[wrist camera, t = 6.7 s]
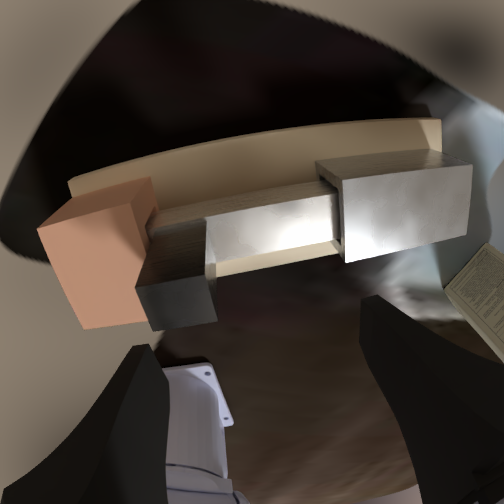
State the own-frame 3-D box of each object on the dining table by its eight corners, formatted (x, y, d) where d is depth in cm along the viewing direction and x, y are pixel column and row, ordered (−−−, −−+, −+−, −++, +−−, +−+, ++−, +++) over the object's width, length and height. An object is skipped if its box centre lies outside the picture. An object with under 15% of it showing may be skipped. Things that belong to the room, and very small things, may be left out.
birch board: (430, 226, 21) (437, 231, 20) (113, 288, 21) (110, 296, 20) (432, 117, 17) (441, 119, 17) (73, 177, 17) (67, 181, 16)
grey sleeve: (428, 208, 19) (466, 234, 16) (320, 228, 19) (345, 262, 16) (430, 148, 17) (472, 164, 14) (314, 160, 17) (342, 180, 14)
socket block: (176, 270, 19) (169, 317, 15) (104, 283, 19) (83, 330, 15) (150, 175, 17) (130, 203, 13) (72, 197, 16) (36, 228, 12)
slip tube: (365, 213, 18) (432, 276, 12) (112, 262, 18) (73, 345, 11) (363, 173, 17) (438, 222, 11) (99, 225, 17) (47, 298, 10)
